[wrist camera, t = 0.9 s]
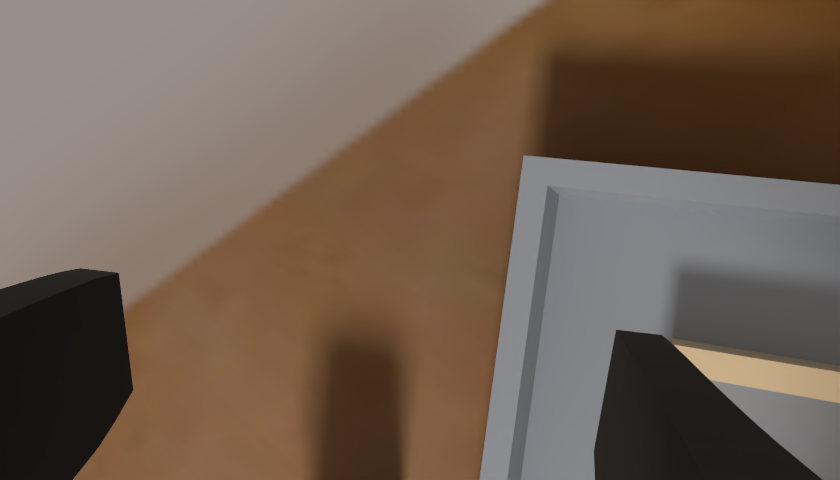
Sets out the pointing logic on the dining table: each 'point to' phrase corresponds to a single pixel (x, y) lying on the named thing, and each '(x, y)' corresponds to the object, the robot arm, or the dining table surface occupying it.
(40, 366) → the robot arm
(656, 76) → the dining table surface
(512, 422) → the box
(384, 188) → the dining table surface
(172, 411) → the dining table surface
